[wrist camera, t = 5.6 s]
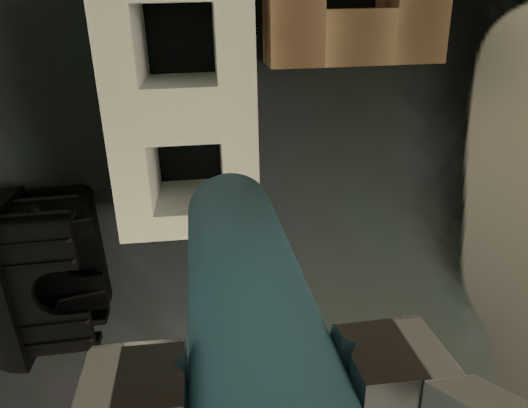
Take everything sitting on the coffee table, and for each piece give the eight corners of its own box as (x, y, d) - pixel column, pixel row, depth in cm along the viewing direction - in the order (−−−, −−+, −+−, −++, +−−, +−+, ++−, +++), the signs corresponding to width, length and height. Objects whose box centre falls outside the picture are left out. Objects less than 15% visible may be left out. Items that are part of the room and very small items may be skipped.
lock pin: (271, 170, 14) (422, 456, 5) (271, 247, 15) (400, 608, 6) (185, 175, 14) (179, 490, 5) (190, 253, 15) (195, 644, 6)
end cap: (-23, 185, 31) (-79, 229, 25) (90, 176, 32) (62, 217, 26) (15, 315, 35) (-26, 381, 29) (114, 304, 36) (96, 367, 30)
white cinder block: (244, -27, 28) (254, -34, 23) (251, 196, 34) (261, 234, 28) (103, -25, 28) (78, -32, 22) (133, 204, 33) (119, 244, 27)
